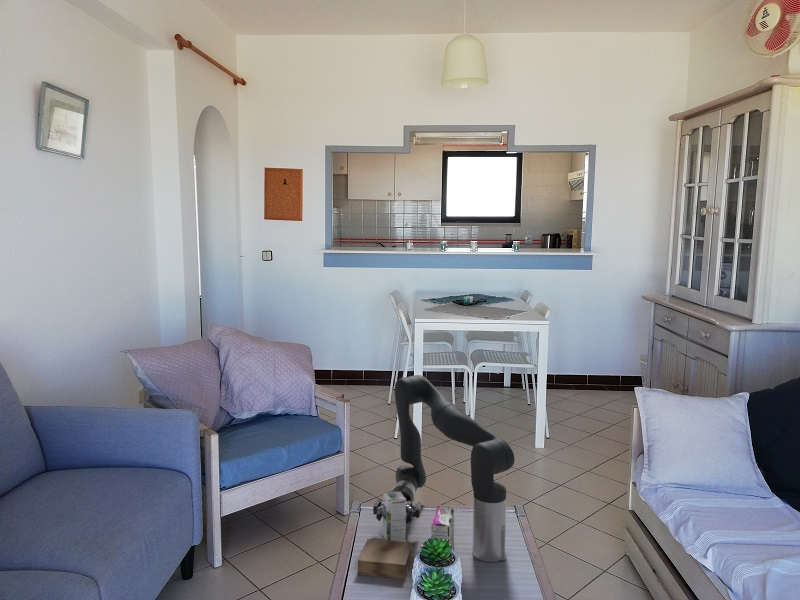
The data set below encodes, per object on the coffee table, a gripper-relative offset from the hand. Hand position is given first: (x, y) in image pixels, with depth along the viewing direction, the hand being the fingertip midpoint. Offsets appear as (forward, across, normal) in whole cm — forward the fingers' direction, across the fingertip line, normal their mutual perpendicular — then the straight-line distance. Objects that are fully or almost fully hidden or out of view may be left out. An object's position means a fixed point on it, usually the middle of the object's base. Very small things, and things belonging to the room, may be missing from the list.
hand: (393, 519), depth 182 cm
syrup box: (-2, 0, +8) cm, 8 cm away
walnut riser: (+11, 0, +8) cm, 14 cm away
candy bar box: (+12, +16, +8) cm, 22 cm away
